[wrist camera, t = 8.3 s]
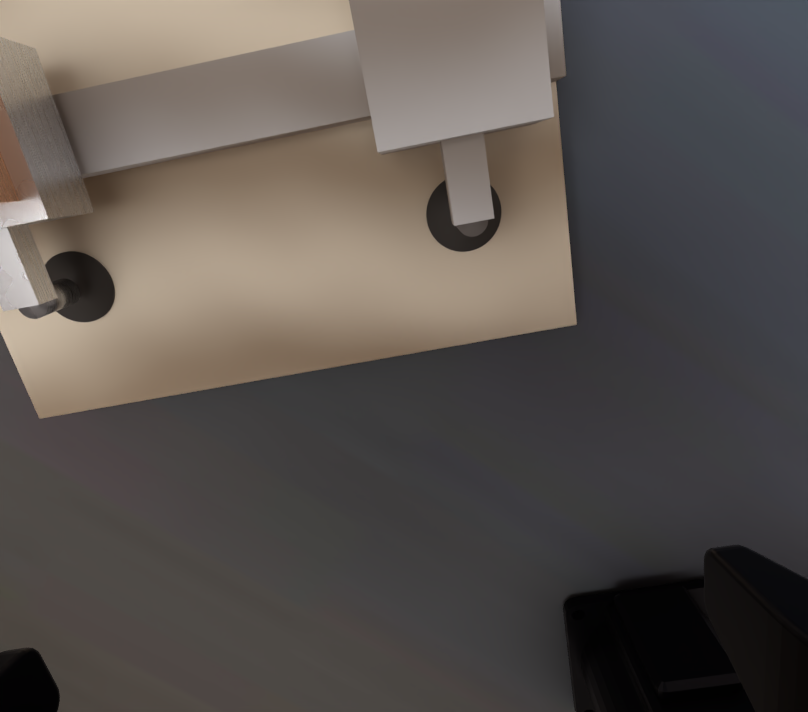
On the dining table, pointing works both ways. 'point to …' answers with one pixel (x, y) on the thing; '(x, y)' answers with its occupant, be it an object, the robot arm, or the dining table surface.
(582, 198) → the dining table surface
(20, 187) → the sliding leg
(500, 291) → the wooden base plate
